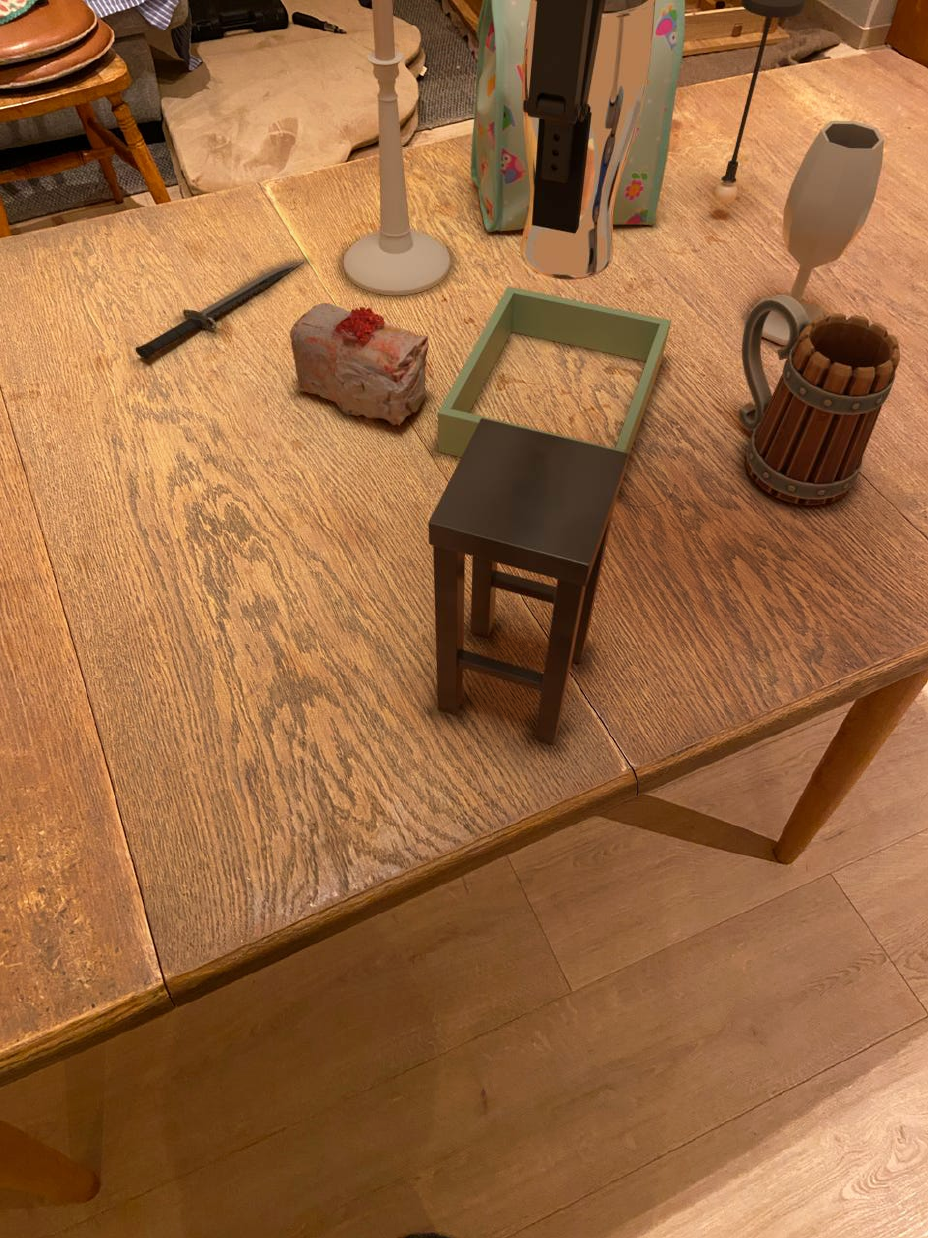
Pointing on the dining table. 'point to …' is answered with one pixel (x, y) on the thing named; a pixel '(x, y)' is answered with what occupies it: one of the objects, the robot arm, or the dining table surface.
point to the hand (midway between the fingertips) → (573, 194)
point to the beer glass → (594, 141)
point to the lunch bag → (502, 129)
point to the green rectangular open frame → (561, 325)
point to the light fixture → (754, 81)
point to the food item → (360, 362)
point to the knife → (212, 311)
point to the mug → (814, 401)
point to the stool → (521, 552)
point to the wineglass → (827, 206)
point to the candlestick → (393, 193)
